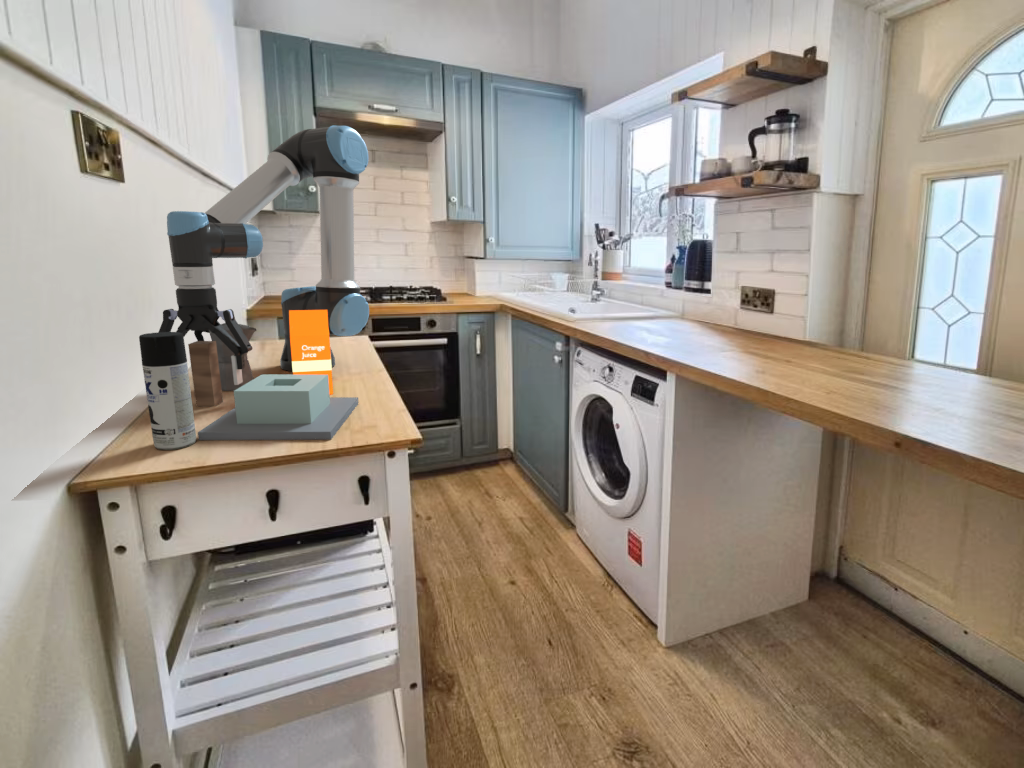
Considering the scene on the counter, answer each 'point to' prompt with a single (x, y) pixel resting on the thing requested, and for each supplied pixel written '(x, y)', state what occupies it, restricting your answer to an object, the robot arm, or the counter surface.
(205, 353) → the peg
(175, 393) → the spray can
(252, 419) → the socket block
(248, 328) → the coffeepot
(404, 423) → the counter surface
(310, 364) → the orange juice
